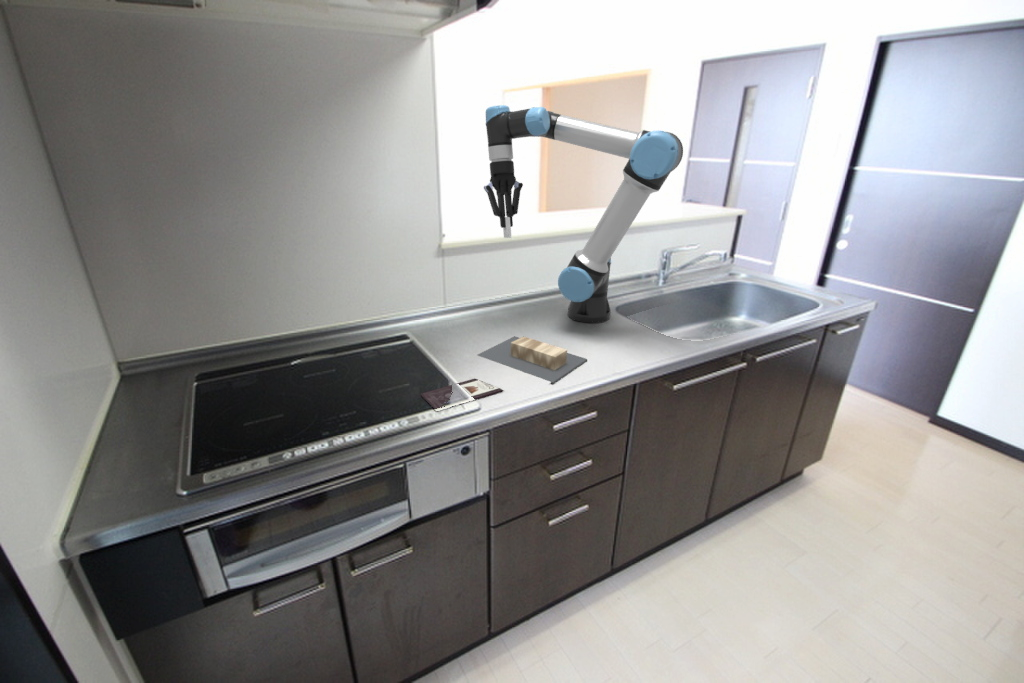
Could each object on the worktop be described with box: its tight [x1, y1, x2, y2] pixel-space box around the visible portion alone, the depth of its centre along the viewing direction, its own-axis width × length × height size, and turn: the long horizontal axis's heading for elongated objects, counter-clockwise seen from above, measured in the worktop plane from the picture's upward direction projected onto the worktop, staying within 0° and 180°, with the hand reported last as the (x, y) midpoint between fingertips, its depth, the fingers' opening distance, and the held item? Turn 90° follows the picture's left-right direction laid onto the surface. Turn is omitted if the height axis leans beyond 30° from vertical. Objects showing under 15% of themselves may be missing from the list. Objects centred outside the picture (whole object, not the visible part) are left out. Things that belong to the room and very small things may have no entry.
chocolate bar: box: [420, 378, 503, 410], centre depth 118 cm, size 9×1×18 cm
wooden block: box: [511, 335, 568, 370], centre depth 134 cm, size 4×6×15 cm
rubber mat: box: [477, 336, 588, 385], centre depth 137 cm, size 26×18×1 cm
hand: (507, 237), depth 156 cm, fingers closed
